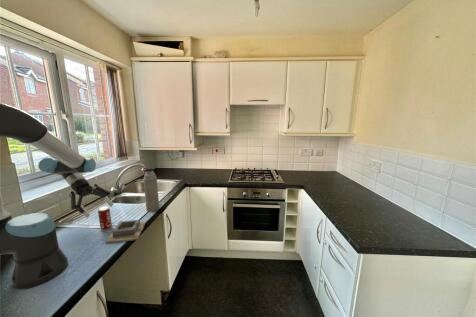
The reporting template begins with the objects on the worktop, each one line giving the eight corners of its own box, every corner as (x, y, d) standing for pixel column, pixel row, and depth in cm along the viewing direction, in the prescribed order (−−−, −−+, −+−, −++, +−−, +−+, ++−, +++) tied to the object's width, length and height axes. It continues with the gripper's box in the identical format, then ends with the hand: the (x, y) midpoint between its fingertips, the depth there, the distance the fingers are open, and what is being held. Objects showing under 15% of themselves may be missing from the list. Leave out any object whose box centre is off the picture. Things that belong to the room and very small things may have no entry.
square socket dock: (137, 239, 94) (136, 232, 93) (105, 243, 91) (104, 235, 91) (145, 223, 110) (144, 216, 109) (119, 226, 107) (118, 219, 106)
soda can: (110, 224, 108) (107, 205, 106) (113, 227, 105) (110, 207, 103) (99, 228, 104) (96, 208, 102) (102, 232, 101) (99, 211, 99)
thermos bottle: (151, 205, 132) (148, 167, 127) (161, 206, 131) (158, 168, 126) (143, 211, 125) (139, 170, 119) (154, 212, 123) (150, 171, 118)
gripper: (97, 180, 120) (117, 205, 118) (48, 194, 96) (73, 225, 95) (102, 172, 117) (123, 198, 116) (53, 185, 94) (79, 217, 92)
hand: (101, 210), depth 105 cm, fingers open, 13 cm apart
